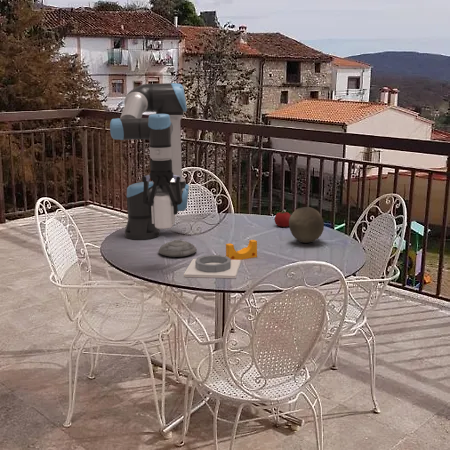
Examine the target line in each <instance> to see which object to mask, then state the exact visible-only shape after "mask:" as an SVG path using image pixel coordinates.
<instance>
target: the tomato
mask: <svg viewBox="0 0 450 450" xmlns="http://www.w3.org/2000/svg"><path fill="white" fill-rule="evenodd" d="M291 215H292V214H291V213H289V212H287V211H285V210H282V211H280V212H276V214H275V215H274V223H275V225H276V226H277V227H281V228H287V227H289V218H290V216H291Z"/></svg>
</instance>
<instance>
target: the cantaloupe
mask: <svg viewBox="0 0 450 450" xmlns="http://www.w3.org/2000/svg"><path fill="white" fill-rule="evenodd" d="M290 215H291V216H290V218H289V226H288V227H289V230H290V233H291V235H292V236H293V237H294V239H295V240H297V241H299V242H300V243H304V244H308V243H313V242H315V241H317V240H318V239H319V238H320V237H321V236H322V234H323V233H324V232H323V231H324V229H325V223H324V219H323V217H322V215H321V213H320V211H319V210H317V209H316V208H314V207H310V206H304V207H299V208H296V209H294V211H293V212H292V213H291V214H290Z"/></svg>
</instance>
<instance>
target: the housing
mask: <svg viewBox="0 0 450 450" xmlns="http://www.w3.org/2000/svg"><path fill="white" fill-rule="evenodd" d="M241 264H242V260H231V259H230V258H229V257H227V256H226V255H221V254H208V255H202V256H200V257H197V258H192V260H191V262H190V263H189V265H188V266H187V268H186V270H185V272H184V273H183V278H200V279H201V278H203V279H207V278H208V279H209V278H210V279H211V278H212V279H236V278H237V276H238V273H239V269H240V267H241Z"/></svg>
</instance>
